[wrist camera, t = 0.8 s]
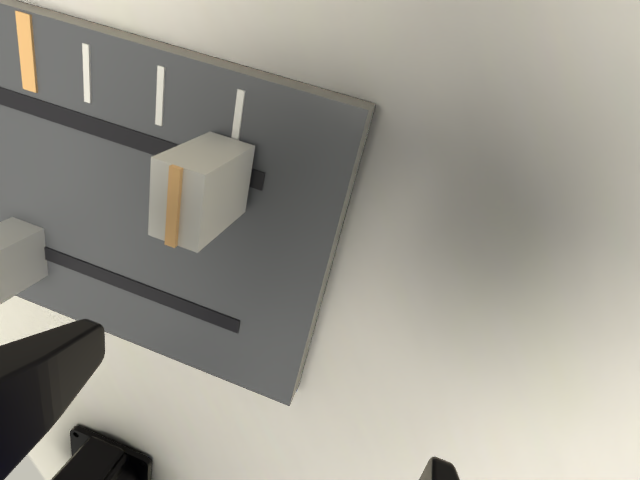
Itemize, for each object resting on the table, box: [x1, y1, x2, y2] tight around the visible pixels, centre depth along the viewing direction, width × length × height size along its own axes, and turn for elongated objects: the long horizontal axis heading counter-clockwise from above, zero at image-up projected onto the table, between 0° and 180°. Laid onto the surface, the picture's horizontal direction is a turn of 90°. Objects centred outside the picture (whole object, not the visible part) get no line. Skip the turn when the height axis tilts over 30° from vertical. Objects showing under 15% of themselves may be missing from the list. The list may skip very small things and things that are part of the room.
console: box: [0, 0, 376, 406], centre depth 21 cm, size 16×24×6 cm, turn 77°
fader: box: [148, 132, 255, 253], centre depth 17 cm, size 3×2×4 cm, turn 167°
